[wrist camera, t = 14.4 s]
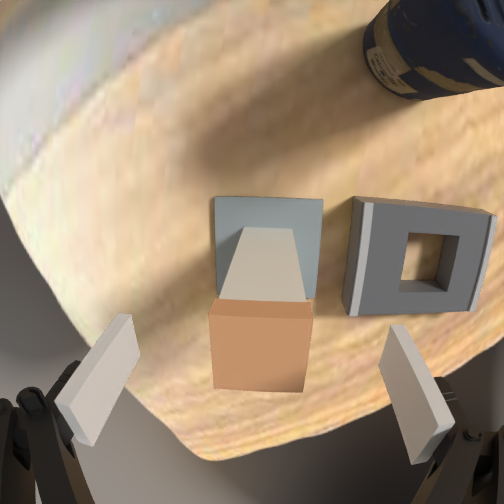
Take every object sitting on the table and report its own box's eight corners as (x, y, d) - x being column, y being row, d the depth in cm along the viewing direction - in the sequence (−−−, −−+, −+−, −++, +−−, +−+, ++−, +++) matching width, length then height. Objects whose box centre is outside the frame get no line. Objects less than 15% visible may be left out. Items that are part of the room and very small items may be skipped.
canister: (444, 36, 21) (556, -15, 4) (440, 115, 24) (576, 111, 7) (361, 6, 21) (434, -97, 4) (353, 88, 25) (454, 26, 8)
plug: (242, 272, 31) (214, 388, 16) (242, 225, 29) (208, 314, 14) (291, 274, 30) (302, 392, 15) (293, 227, 29) (313, 319, 14)
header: (341, 300, 32) (347, 316, 29) (353, 196, 28) (362, 202, 25) (462, 298, 31) (475, 311, 28) (482, 209, 27) (498, 216, 24)
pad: (218, 292, 32) (217, 294, 32) (215, 196, 29) (214, 197, 28) (314, 295, 32) (314, 298, 31) (322, 199, 28) (323, 200, 28)
